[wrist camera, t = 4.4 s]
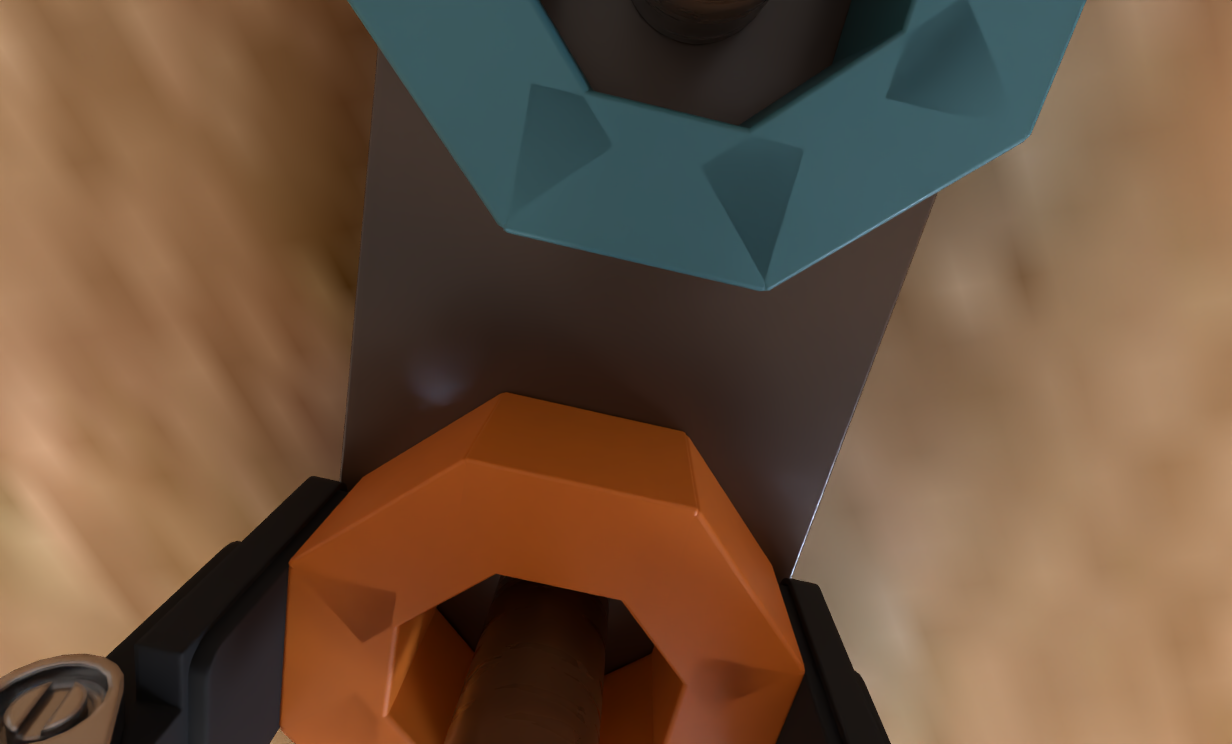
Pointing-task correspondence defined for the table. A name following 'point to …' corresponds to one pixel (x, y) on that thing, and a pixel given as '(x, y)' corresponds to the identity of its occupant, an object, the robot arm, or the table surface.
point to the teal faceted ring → (724, 130)
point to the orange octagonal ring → (537, 580)
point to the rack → (609, 337)
